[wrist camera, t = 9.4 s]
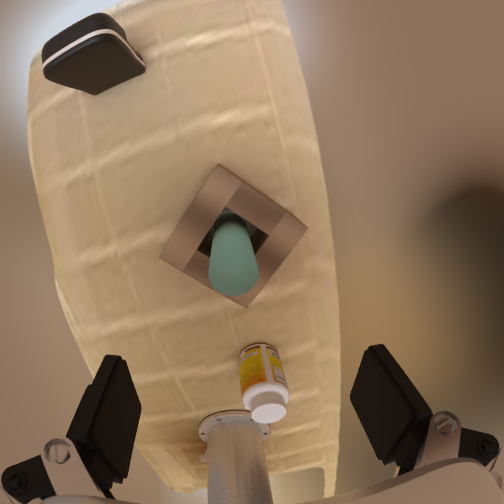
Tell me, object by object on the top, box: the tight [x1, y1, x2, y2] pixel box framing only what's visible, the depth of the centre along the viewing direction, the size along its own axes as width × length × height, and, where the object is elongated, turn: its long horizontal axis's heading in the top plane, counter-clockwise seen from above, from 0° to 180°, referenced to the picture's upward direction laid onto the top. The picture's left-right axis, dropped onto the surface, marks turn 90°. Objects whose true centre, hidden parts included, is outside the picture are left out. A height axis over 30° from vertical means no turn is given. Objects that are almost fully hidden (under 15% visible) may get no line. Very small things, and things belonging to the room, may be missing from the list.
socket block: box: [159, 164, 308, 308], centre depth 28 cm, size 10×10×5 cm
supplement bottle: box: [239, 344, 289, 424], centre depth 32 cm, size 6×6×10 cm
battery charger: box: [42, 13, 145, 95], centre depth 17 cm, size 7×4×11 cm, turn 106°
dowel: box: [208, 213, 259, 296], centre depth 25 cm, size 3×3×12 cm
